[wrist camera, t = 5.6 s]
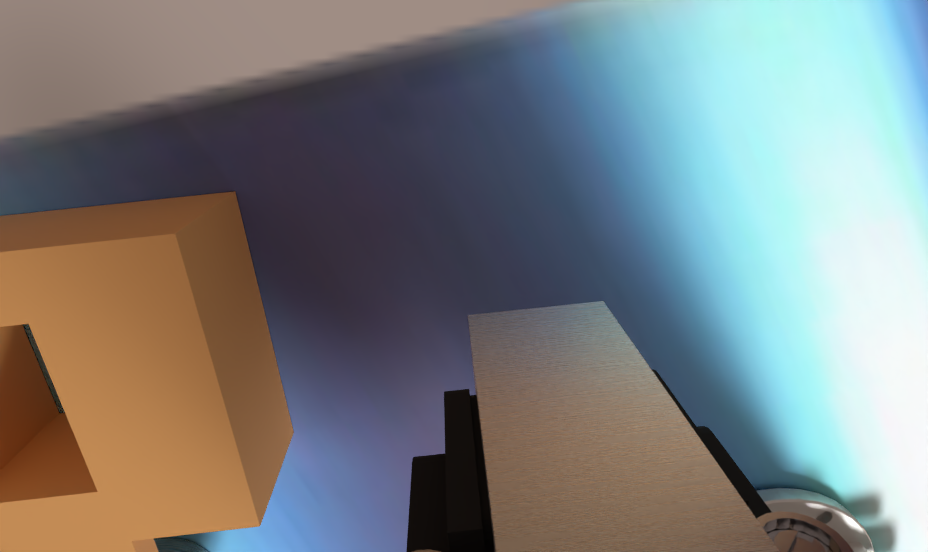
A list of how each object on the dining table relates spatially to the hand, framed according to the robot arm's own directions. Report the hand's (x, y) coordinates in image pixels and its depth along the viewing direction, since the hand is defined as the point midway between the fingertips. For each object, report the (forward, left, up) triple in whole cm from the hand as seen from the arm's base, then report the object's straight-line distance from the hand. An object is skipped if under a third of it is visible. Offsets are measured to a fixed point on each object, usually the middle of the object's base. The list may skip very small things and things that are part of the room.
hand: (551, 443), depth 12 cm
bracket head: (+21, +4, -14) cm, 26 cm away
